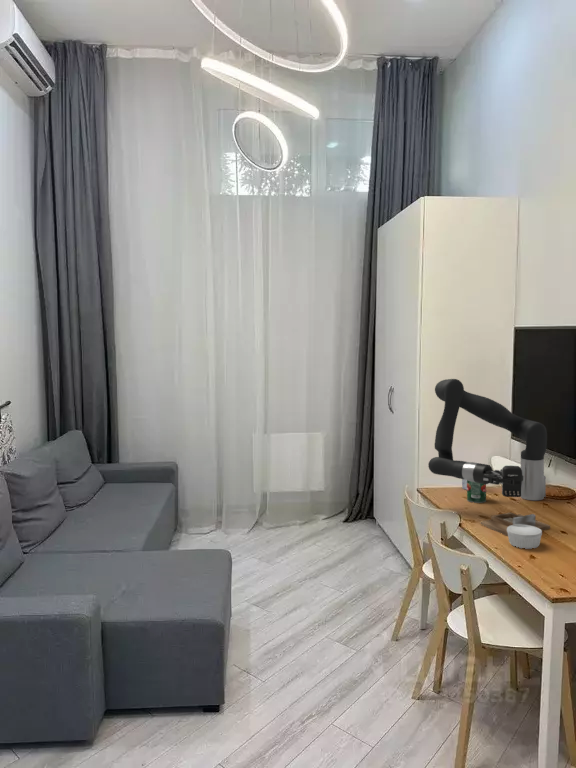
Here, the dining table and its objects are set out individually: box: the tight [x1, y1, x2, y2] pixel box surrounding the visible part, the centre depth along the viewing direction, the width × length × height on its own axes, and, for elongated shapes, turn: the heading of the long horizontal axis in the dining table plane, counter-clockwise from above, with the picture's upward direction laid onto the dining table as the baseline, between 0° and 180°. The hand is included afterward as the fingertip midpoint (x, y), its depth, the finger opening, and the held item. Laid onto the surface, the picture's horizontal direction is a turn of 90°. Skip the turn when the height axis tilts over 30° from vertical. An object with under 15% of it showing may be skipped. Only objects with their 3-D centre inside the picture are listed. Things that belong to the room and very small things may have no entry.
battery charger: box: [501, 465, 522, 498], centre depth 216 cm, size 7×4×11 cm, turn 77°
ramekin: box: [507, 525, 543, 550], centre depth 199 cm, size 11×11×5 cm
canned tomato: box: [466, 480, 487, 504], centre depth 251 cm, size 8×8×11 cm
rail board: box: [480, 512, 551, 537], centre depth 217 cm, size 19×15×5 cm
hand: (518, 480), depth 215 cm, fingers closed on battery charger, 6 cm apart
